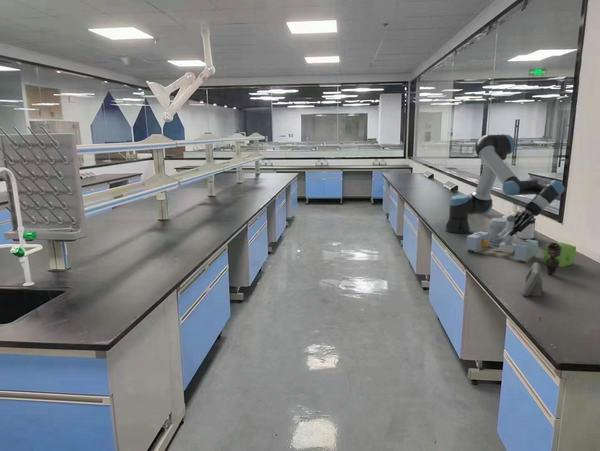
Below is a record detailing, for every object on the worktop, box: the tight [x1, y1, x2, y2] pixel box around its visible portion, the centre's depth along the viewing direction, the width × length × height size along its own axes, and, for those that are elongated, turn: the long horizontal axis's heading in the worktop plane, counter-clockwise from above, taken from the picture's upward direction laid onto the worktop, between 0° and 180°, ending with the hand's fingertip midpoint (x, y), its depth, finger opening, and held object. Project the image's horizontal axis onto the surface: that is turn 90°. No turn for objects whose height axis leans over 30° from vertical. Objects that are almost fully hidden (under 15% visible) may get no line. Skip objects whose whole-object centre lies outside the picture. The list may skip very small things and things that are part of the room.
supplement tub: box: [488, 217, 507, 247], centre depth 233 cm, size 10×10×15 cm
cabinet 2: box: [514, 239, 539, 261], centre depth 206 cm, size 5×16×8 cm, turn 132°
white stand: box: [498, 214, 518, 253], centre depth 211 cm, size 7×6×19 cm
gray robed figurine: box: [521, 262, 543, 297], centre depth 165 cm, size 16×9×11 cm, turn 139°
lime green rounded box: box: [543, 241, 578, 268], centre depth 198 cm, size 18×10×10 cm, turn 116°
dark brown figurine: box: [545, 242, 562, 276], centre depth 183 cm, size 6×6×15 cm
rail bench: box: [467, 245, 536, 264], centre depth 216 cm, size 30×12×2 cm, turn 42°
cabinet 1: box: [465, 231, 489, 250], centre depth 224 cm, size 5×16×8 cm, turn 132°
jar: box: [516, 220, 536, 240], centre depth 248 cm, size 9×8×12 cm
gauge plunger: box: [481, 239, 490, 247], centre depth 222 cm, size 6×3×3 cm, turn 42°
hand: (502, 238), depth 211 cm, fingers closed on white stand, 4 cm apart
